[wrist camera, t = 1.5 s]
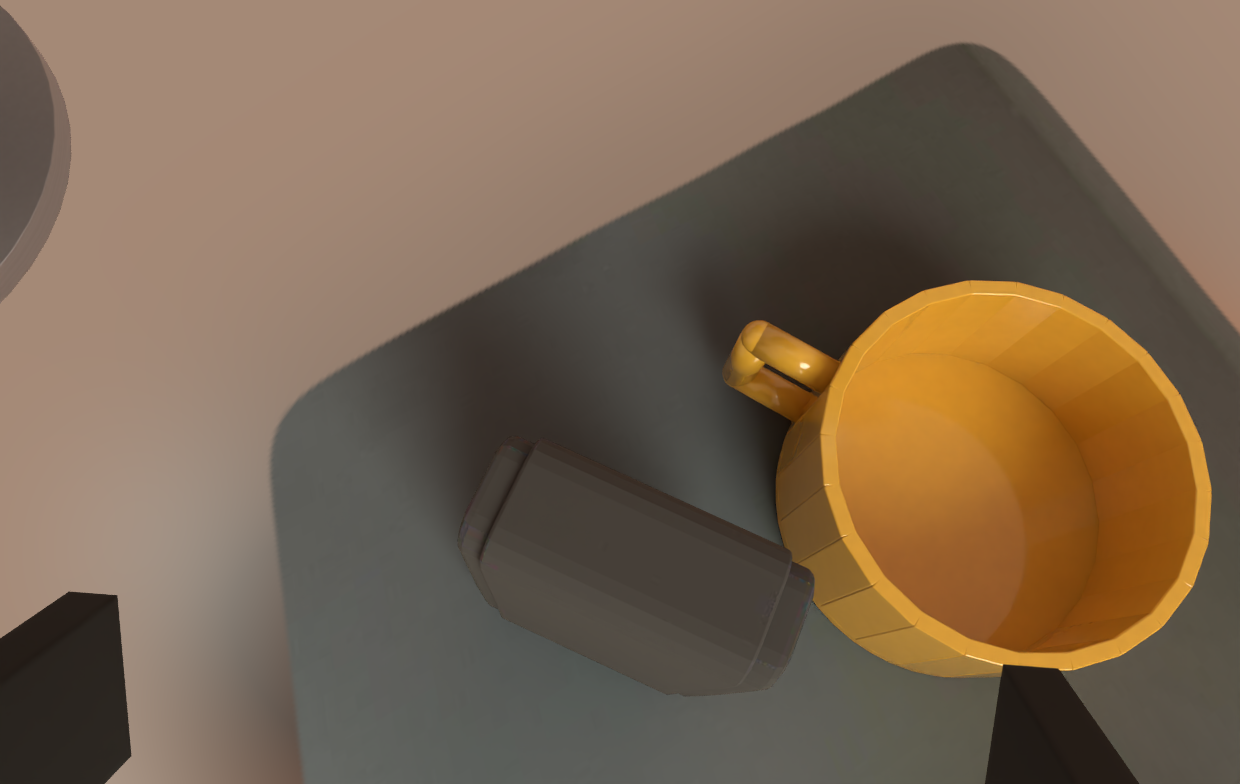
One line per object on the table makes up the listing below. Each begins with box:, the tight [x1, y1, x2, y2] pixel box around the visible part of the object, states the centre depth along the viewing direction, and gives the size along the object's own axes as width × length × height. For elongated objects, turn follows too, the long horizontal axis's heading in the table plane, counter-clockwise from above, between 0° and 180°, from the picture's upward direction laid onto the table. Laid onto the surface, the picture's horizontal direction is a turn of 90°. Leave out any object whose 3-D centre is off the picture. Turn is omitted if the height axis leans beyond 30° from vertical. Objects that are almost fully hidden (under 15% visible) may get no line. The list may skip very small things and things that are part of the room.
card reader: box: [458, 436, 815, 696], centre depth 31 cm, size 9×4×15 cm, turn 66°
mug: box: [722, 280, 1212, 678], centre depth 38 cm, size 18×14×7 cm
